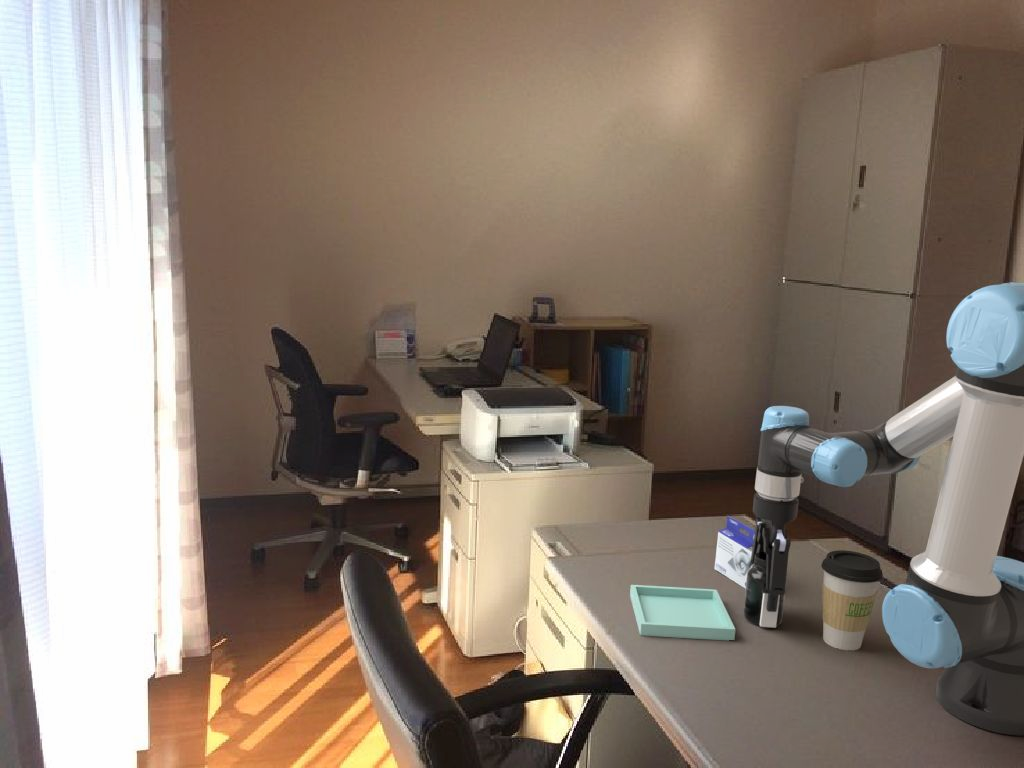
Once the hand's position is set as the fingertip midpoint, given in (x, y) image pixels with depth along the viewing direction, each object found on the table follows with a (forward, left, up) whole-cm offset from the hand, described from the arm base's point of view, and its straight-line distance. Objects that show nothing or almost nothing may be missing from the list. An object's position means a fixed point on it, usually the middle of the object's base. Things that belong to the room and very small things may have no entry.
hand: (762, 616), depth 164 cm
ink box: (+17, +1, -1) cm, 17 cm away
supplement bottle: (0, 0, -1) cm, 1 cm away
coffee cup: (-7, -12, -1) cm, 14 cm away
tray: (-1, +15, -1) cm, 15 cm away
